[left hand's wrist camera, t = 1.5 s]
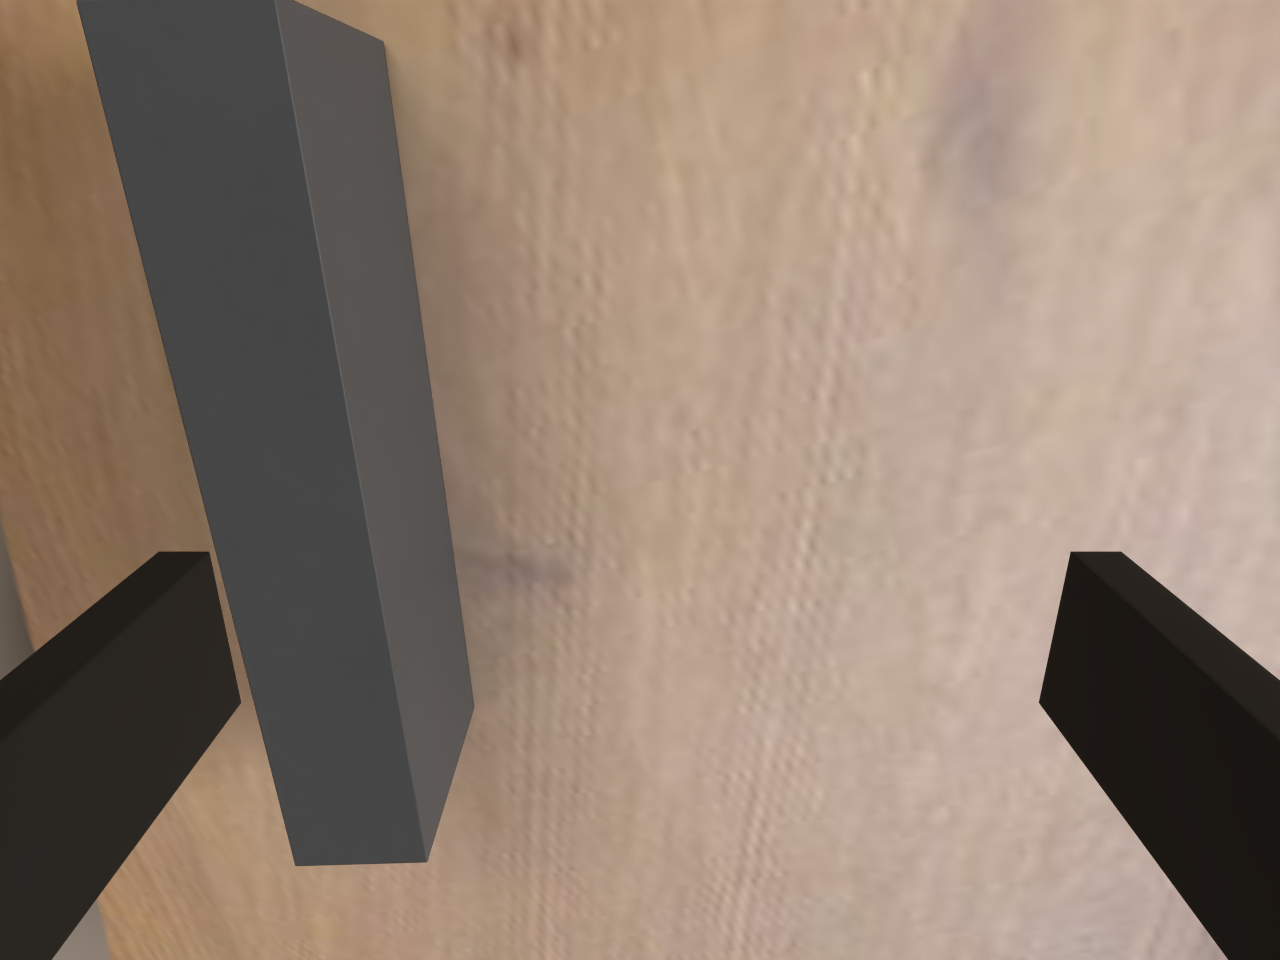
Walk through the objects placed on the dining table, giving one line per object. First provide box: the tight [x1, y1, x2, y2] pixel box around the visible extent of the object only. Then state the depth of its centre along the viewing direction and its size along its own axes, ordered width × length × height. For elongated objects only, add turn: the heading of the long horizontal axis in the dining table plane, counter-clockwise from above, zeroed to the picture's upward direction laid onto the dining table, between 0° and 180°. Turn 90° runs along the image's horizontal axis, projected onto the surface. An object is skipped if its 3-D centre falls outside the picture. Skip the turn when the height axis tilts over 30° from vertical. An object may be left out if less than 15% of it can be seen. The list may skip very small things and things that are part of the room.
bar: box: [77, 0, 474, 866], centre depth 27 cm, size 26×5×8 cm, turn 2°
